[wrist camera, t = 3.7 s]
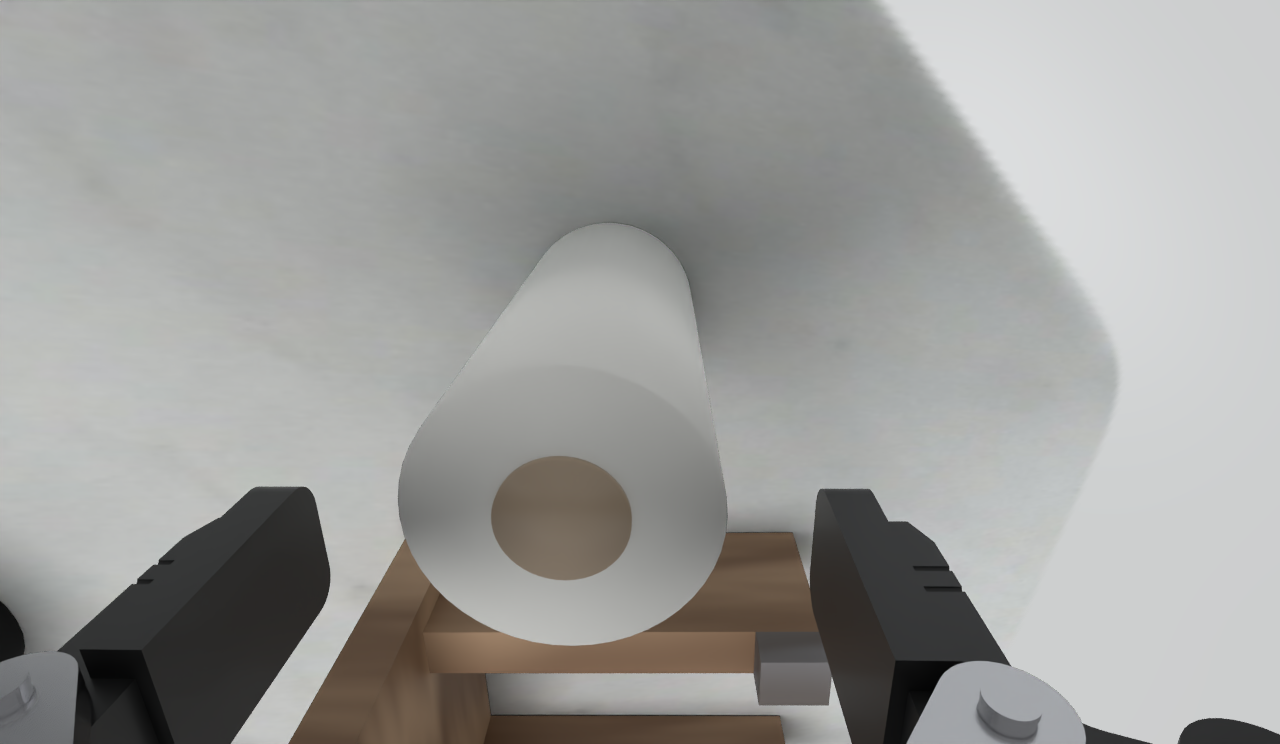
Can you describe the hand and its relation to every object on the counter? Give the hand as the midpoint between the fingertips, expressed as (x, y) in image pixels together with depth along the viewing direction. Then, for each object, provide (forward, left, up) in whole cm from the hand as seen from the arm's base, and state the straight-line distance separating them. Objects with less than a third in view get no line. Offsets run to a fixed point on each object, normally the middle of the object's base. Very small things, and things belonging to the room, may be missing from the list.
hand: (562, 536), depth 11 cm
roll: (0, 0, -12) cm, 12 cm away
